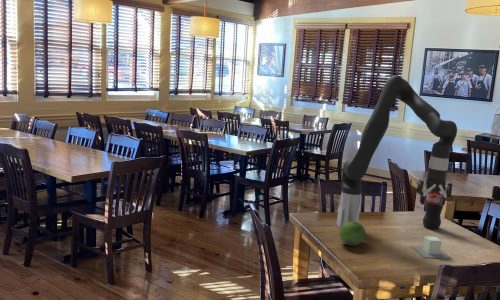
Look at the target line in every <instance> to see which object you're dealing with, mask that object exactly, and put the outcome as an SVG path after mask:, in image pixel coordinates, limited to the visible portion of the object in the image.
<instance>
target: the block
mask: <svg viewBox="0 0 500 300" xmlns="http://www.w3.org/2000/svg"><path fill="white" fill-rule="evenodd" d="M423 239H424V240H423V245H422V247H423V250H424V251H425V252H426V253H428V254H440V250H441V247H442V240H441V239H440V238H438V237H436V236H430V235H429V236H424V238H423Z"/></svg>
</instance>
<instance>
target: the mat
mask: <svg viewBox="0 0 500 300" xmlns="http://www.w3.org/2000/svg"><path fill="white" fill-rule="evenodd" d="M411 248H412V250H414V251H415V252H417V253H418V254H419V255H420V256H421V257H422V256H423V257H422V258H424V259H442V260H443V259H444V260H445V259H446V260H447V259H448V260H449V259H450V260H451V259H452V257H451V256H450V255H448V254H447V253H445V252H444V251H443V250H442V249H440V254H428V253H426V252H425V251H424V250H423V246H411Z"/></svg>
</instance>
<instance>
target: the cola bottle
mask: <svg viewBox="0 0 500 300" xmlns="http://www.w3.org/2000/svg"><path fill="white" fill-rule="evenodd" d="M443 189H444V191H445V192H446V185H445V186H444V187H443ZM441 197H442V196H441V194H440V192H436V191H434V192H432V191H430V192H429V193H427V194H426V197H425V203H424V205H425V214H424V216H423V217H422V225H423V227H425V228H426V229H429V230H438V229H440V226H441V224H442V220H441V214H442V211H443V208H444V206H440V199H441Z"/></svg>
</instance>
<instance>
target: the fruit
mask: <svg viewBox="0 0 500 300" xmlns="http://www.w3.org/2000/svg"><path fill="white" fill-rule="evenodd" d="M365 234H366V229H365V227H364V226H363V225H362V224H361V223H359V222H358V223H357V222H353V221H351V222H348V223H345V224H344V225H343V226H342V227H341V229H340V230H339V238H340V240H341V241H342V243H344V244H345V245H347V246H351V247H352V246H357V245H359V244H361V243H362V242H363V240H364V238H365Z"/></svg>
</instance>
